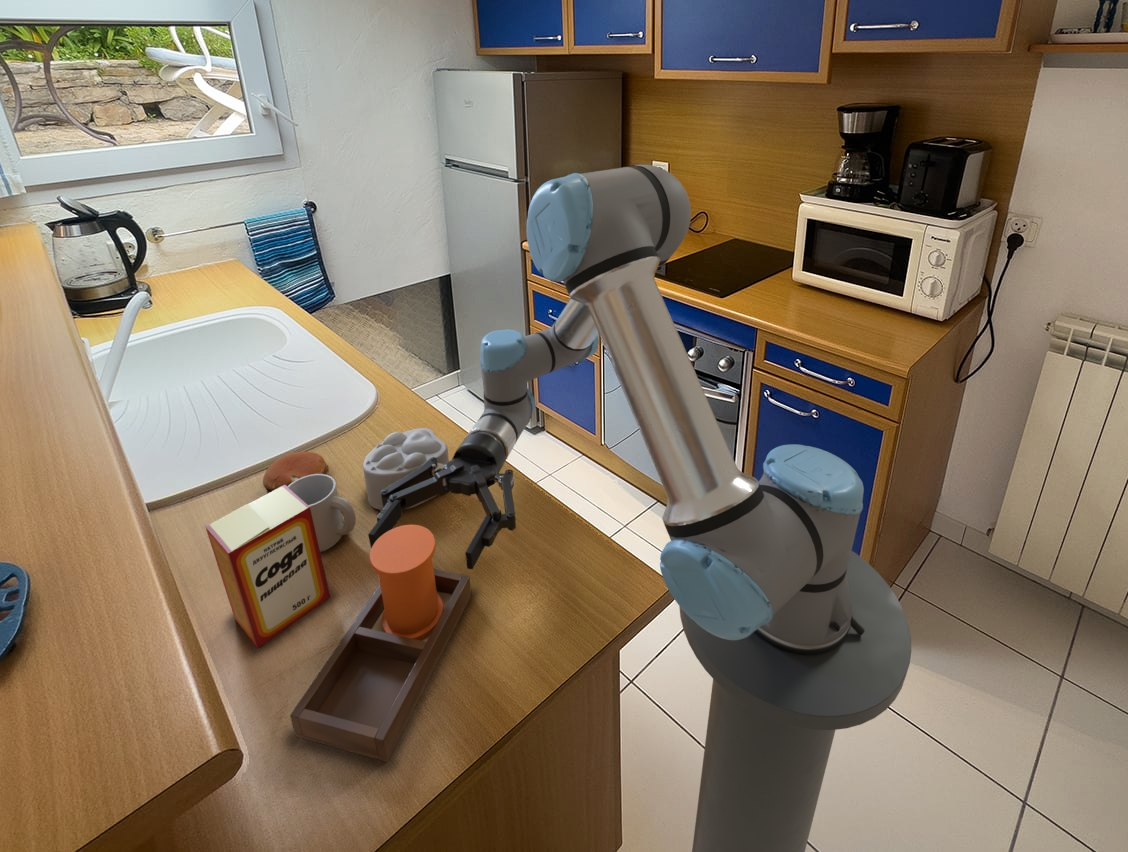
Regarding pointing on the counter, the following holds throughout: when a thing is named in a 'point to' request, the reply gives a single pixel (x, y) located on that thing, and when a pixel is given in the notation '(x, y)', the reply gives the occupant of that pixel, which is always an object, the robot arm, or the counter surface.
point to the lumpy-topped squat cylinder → (400, 460)
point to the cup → (325, 508)
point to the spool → (407, 581)
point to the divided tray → (376, 677)
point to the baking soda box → (269, 563)
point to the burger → (293, 469)
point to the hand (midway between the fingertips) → (419, 551)
